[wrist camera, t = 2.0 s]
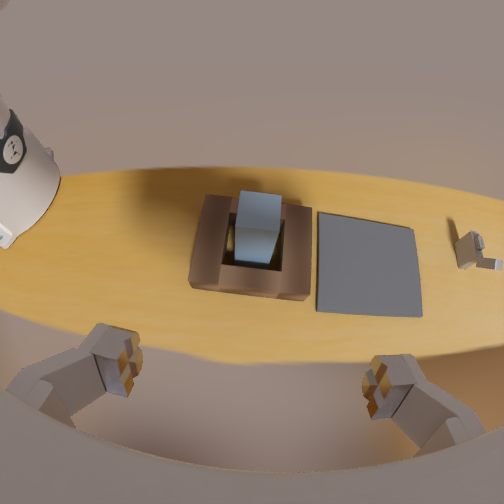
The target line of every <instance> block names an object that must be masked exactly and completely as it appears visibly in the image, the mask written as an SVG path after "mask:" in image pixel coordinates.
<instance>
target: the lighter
mask: <svg viewBox="0 0 504 504" xmlns="http://www.w3.org/2000/svg"><path fill="white" fill-rule="evenodd" d="M454 246H455V251H456V257H457V263H458V268H459V269H466V268H468V267H470V266H471V265H473V264H475V263H476V262H477V264H476V267H480V268H487V269H494V270H502V261H503V260H499V259H491V258H483V253H482V249H484V248H485V246H484V242H483V238H482V237H481V236H480V235H479V234H478V233H477V232H475V231H470V232H469V233H467V234H466V235H465V236H463V237H462V238H461V239H459V240H458V241H457V242H455V243H454Z"/></svg>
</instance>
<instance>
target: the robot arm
mask: <svg viewBox="0 0 504 504" xmlns="http://www.w3.org/2000/svg"><path fill="white" fill-rule="evenodd" d="M9 1H10V0H0V12H1V11H2V10H3V9H4V8H5V7H6V6H7V4H8V3H9ZM59 180H60V172H59V168H58V166H57V165H56V163H55V162H54V160H53V151H52V150H51V149H50V148H44V147H43V146H42V144H41V143H40V142H39V141H38V139H37V138H36V137H35V136H34V134H33V133H32V132H31V130H30V129H29V128H23V126H22V124H21V123H20V120H19V118H18V117H17V115H16V114H15V113H14V112H13V110H11V109H8V107H7V106H6V104H5V102H4V100H3V98H2V96H1V95H0V247H2V248H3V249H7V248H8V247H9V246H10V245H11V244H12V243H13V242H14V240H15V239H16V238H17V237H18V236H19V235H20V234H21V233H23V232H24V231H26V230H27V229H29V228H30V227H31V226H33V225H34V224H35V223H36V222H37V221H38V220H39V219H40V218H41V216H42V215H43V214H44V213H45V211H46V210H47V208H48V207H49V205H50V204H51V202H52V200H53V198H54V196H55V194H56V191H57V189H58V185H59ZM139 342H140V337H139V333H137V332H136V331H132V330H128V329H124V328H120V327H116V326H111V325H107V324H104V323H98V324H97V325H96V326H95V327H94V328H93V329H92V331H91V332H90V333H89V334H88V336H87V337H86V338H85V339H84V341H83V342H82V343H81V344H80V346H79V347H78V348H77V349H76V348H72V349H70V350H67V351H65V352H62V353H60V354H57V355H55V356H52V357H50V358H47V359H45V360H42V361H40V362H37V363H35V364H32V365H30V366H27V367H25V368H22V370H21V371H20V372H19V373H18V374H17V376H16V377H15V378H14V379H13V381H12V382H11V383H10V384H9V386H8V387H7V388H6V389H5V390H3V389H2V388H0V504H504V425H503V426H501V427H499V428H496V429H495V430H492V431H490V432H488V433H486V431H485V430H484V427H483V426H482V424H481V422H480V420H479V418H478V417H477V414H476V413H475V411H474V410H473V409H471V408H470V407H468V406H467V405H465V404H464V403H462V402H460V401H459V400H458V399H456V398H455V397H453V396H451V395H450V394H448V393H447V392H445V391H444V390H442V389H441V388H439V387H438V386H436V385H435V384H433V383H432V382H430V383H428V381H427V379H426V377H425V376H424V374H423V372H422V370H421V368H420V367H419V365H418V363H417V361H416V360H415V358H414V356H413V355H411V354H400V355H377V356H374V357H373V358H372V360H371V362H370V365H371V369H370V370H369V371H367V372H366V373H365V375H364V378H363V381H362V392H363V396H364V397H365V398H366V399H367V400H368V401H369V402H368V404H367V408H368V412H369V415H370V418H371V420H375V419H386V418H391V419H392V420H393V422H394V423H396V425H397V426H399V428H400V429H401V430H402V431H403V432H404V433H405V434H406V435H407V436H408V437H409V438H410V439H411V440H412V441H413V442H414V443H415V444H416V445H417V446H418V447H420V450H419V451H418V452H417V453H416V454H415V455H414V456H413V458H409V459H405V460H401V461H396V462H391V463H386V464H380V465H375V466H368V467H361V468H354V469H345V470H334V471H320V472H259V471H245V470H234V469H225V468H216V467H210V466H203V465H197V464H191V463H186V462H181V461H176V460H172V459H167V458H163V457H159V456H155V455H150V454H147V453H143V452H140V451H136V450H133V449H130V448H126V447H123V446H120V445H117V444H114V443H111V442H108V441H106V440H103V439H100V438H98V437H95V436H93V435H90V434H87V433H85V432H82V431H80V430H78V429H77V428H76V426H75V425H74V423H73V421H72V420H71V418H70V416H72V415H74V414H75V413H77V412H78V411H80V410H81V409H83V408H84V407H86V406H87V405H88V404H90V403H92V402H93V401H95V400H96V399H98V398H99V397H101V396H102V395H104V394H105V393H106V392H109V393H113V394H116V395H120V396H123V397H128V396H129V393H130V392H131V390H132V387H133V385H134V382H133V378H135V377H136V376H138V375H139V373H140V371H141V367H142V363H143V355H142V350H141V349H140V348H139V347H138V344H139Z"/></svg>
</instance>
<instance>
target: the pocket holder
mask: <svg viewBox="0 0 504 504" xmlns="http://www.w3.org/2000/svg"><path fill="white" fill-rule="evenodd" d="M239 199H240V198H235V197H226V196H216V195H206V196H205V200H204V204H203V209H202V213H201V218H200V222H199V227H198V232H197V236H196V241H195V246H194V251H193V256H192V261H191V266H190V271H189V276H188V281H189V283H190V285H191V287H192V288H195V289H202V290H210V291H217V292H225V293H233V294H241V295H249V296H257V297H266V298H275V299H285V300H294V301H304V300H305V299H306V298H307V297H308V296H309V295H310V288H311V258H312V208H311V207H304V206H297V205H290V204H283V203H281V217H280V231H279V232H281V238H280V252H279V266H278V271H271V270H263V269H255V268H246V267H238V266H230V265H224V260H225V253H226V247H227V241H228V234H229V228H230V226H235V224H236V218H237V212H238V205H239Z"/></svg>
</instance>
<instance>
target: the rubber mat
mask: <svg viewBox="0 0 504 504" xmlns="http://www.w3.org/2000/svg"><path fill="white" fill-rule="evenodd" d="M316 312H328V313H342V314H356V315H373V316H394V317H422V316H423V314H422V296H421V284H420V273H419V264H418V256H417V248H416V242H415V235H414V230H413V229H408V228H403V227H398V226H393V225H387V224H382V223H376V222H371V221H365V220H359V219H354V218H348V217H341V216H335V215H329V214H322V213H319V214H318V273H317V302H316Z"/></svg>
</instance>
